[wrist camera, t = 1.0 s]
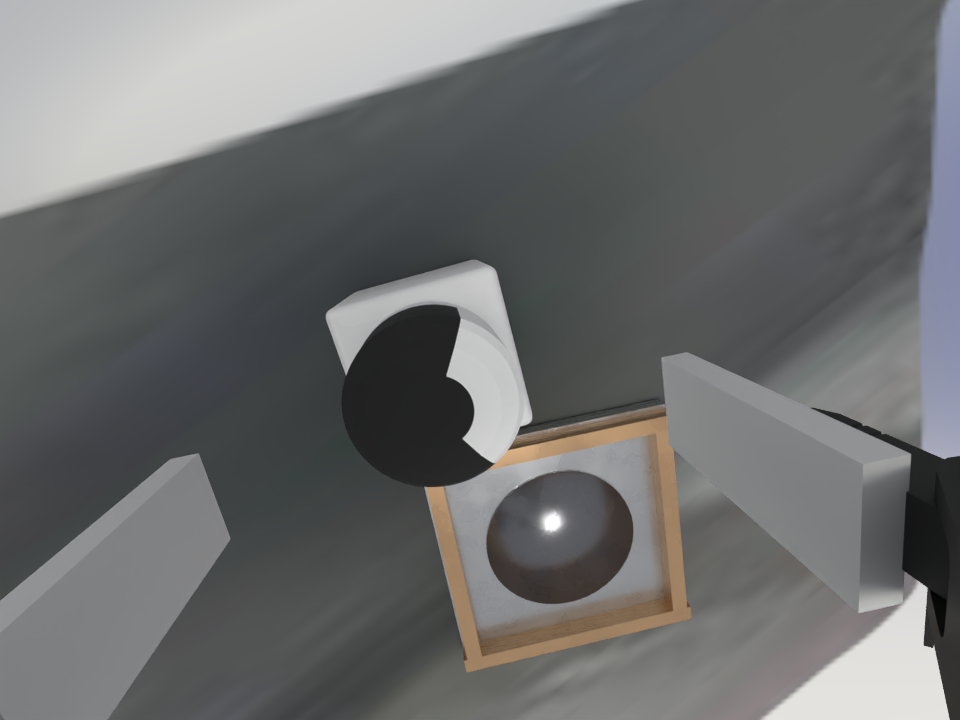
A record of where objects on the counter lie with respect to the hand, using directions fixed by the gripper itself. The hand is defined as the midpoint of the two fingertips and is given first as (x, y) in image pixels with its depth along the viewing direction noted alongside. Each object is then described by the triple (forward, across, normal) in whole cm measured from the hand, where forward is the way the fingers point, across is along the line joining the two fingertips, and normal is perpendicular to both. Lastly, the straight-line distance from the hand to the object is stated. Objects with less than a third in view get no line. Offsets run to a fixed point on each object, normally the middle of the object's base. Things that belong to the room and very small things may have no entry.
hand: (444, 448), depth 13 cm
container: (+16, 0, 0) cm, 16 cm away
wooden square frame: (+16, +5, -15) cm, 23 cm away
